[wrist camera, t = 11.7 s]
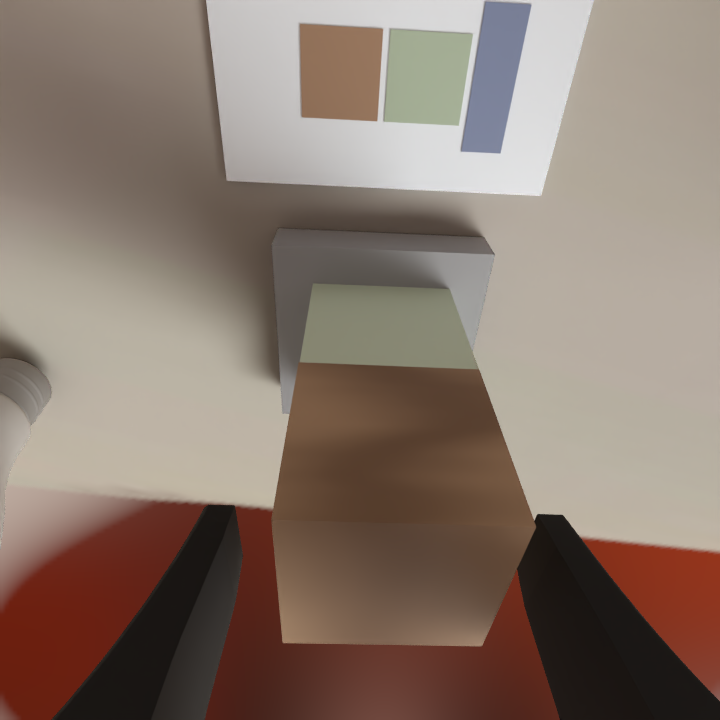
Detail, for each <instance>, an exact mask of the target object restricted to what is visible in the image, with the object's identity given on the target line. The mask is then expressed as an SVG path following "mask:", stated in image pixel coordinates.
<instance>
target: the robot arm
mask: <svg viewBox="0 0 720 720" xmlns="http://www.w3.org/2000/svg"><path fill="white" fill-rule="evenodd" d="M534 522H535V525H536V529H535V531H534V533H533V535H532V537H531V539H530V542H529V544H528V546H527V548H526V550H525V553H524V555H523V557H522V559H521V561H520V563H519V566H518V568H517V570H518V576H519V581H520V586H521V591H522V595H523V601H524V606H525V609H526V612H527V616H528V619H529V622H530V626H531V629H532V632H533V635H534V638H535V642H536V645H537V648H538V651H539V654H540V657H541V660H542V664H543V667H544V670H545V673H546V676H547V679H548V683H549V686H550V689H551V692H552V695H553V698H554V701H555V705H556V708H557V711H558V714H559V718H560V720H720V701H719V700H718V699H717V698H716V697H715V696H714V695H713V694H712V693H711V692H710V691H709V690H708V689H707V688H706V687H705V686H704V685H703V684H702V683H701V682H700V680H699V679H698V678H697V677H696V676H695V675H694V674H693V673H692V672H691V671H690V670H689V669H688V667H687V666H686V665H685V664H684V663H683V662H682V661H681V660H680V659H679V658H678V656H677V655H676V654H675V653H674V652H673V651H672V650H671V649H670V647H669V646H668V645H667V644H666V643H665V642H664V641H663V640H662V638H661V637H660V636H659V635H658V634H657V633H656V631H655V630H654V629H653V628H652V627H651V626H650V624H649V623H648V622H647V621H646V620H645V619H644V617H643V616H642V615H641V614H640V613H639V611H638V610H637V609H636V608H635V606H634V605H633V604H632V603H631V602H630V600H629V599H628V598H627V597H626V595H625V594H624V593H623V592H622V591H621V589H620V588H619V587H618V586H617V584H616V583H615V582H614V581H613V579H612V578H611V577H610V576H609V574H608V573H607V572H606V570H605V569H604V568H603V567H602V565H601V564H600V563H599V561H598V560H597V559H596V558H595V556H594V555H593V554H592V552H591V551H590V550H589V548H588V547H587V546H586V545H585V543H584V542H583V541H582V539H581V538H580V537H579V535H578V534H577V533H576V531H575V530H574V529H573V527H572V526H571V525H570V523H569V522H568V521H567V520H566V518H565V517H564V516H563V515H548V514H537V516H536V519H535V521H534ZM242 557H243V554H242V547H241V541H240V535H239V528H238V522H237V516H236V510H235V506H234V505H208V506H206V507H205V508H204V509H203V511H202V513H201V515H200V517H199V519H198V520H197V522H196V524H195V526H194V527H193V529H192V531H191V532H190V534H189V536H188V538H187V539H186V541H185V542H184V544H183V546H182V547H181V549H180V550H179V552H178V554H177V555H176V557H175V559H174V560H173V562H172V563H171V565H170V566H169V568H168V569H167V571H166V572H165V574H164V575H163V577H162V578H161V580H160V581H159V583H158V584H157V585H156V587H155V589H154V590H153V591H152V593H151V595H150V596H149V597H148V599H147V600H146V602H145V603H144V605H143V606H142V607H141V609H140V610H139V611H138V613H137V614H136V615H135V617H134V618H133V619H132V621H131V622H130V623H129V625H128V626H127V628H126V629H125V630H124V632H123V633H122V634H121V636H120V637H119V638H118V640H117V641H116V642H115V644H114V645H113V646H112V648H111V649H110V650H109V651H108V653H107V654H106V655H105V657H104V658H103V659H102V660H101V662H100V663H99V664H98V665H97V667H96V668H95V669H94V670H93V671H92V673H91V674H90V675H89V676H88V678H87V679H86V680H85V681H84V682H83V684H82V685H81V686H80V687H79V688H78V690H77V691H76V692H75V693H74V694H73V696H72V697H71V698H70V699H69V700H68V702H67V703H66V704H65V705H64V706H63V707H62V708H61V710H60V711H59V712H58V713H57V714H56V715H55V716H54V717H53V719H52V720H204V719H205V716H206V711H207V707H208V703H209V699H210V696H211V692H212V688H213V684H214V681H215V677H216V673H217V669H218V666H219V662H220V658H221V654H222V650H223V647H224V643H225V639H226V636H227V631H228V628H229V624H230V620H231V616H232V613H233V609H234V605H235V601H236V595H237V589H238V583H239V577H240V571H241V564H242Z"/></svg>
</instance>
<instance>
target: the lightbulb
mask: <svg viewBox="0 0 720 720" xmlns="http://www.w3.org/2000/svg"><path fill="white" fill-rule="evenodd" d="M51 394H52V391H51V386H50V383H49V381H48V379H47V378H46V376H45V375H44V374H43V373H42V372H41V371H40V370H39V369H37V368H36V367H34V366H33V365H31V364H29V363H27V362H24V361H21V360H18V359H13V358H0V548H1V540H2V532H3V524H4V515H5V490H6V486H7V482H8V478H9V474H10V471H11V469H12V466H13V464H14V462H15V460H16V458H17V456H18V455H19V453H20V452H21V450H22V449H23V447H24V446H25V444H26V443H27V441H28V439H29V437H30V433H31V425H32V424H33V423H34V422H35V421H36V419H37V417H38V416H39V415H40V414H41V412H42V410H43V408H44V407H45V405H46V404H47V403H48V401H49V400H50V398H51Z"/></svg>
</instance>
